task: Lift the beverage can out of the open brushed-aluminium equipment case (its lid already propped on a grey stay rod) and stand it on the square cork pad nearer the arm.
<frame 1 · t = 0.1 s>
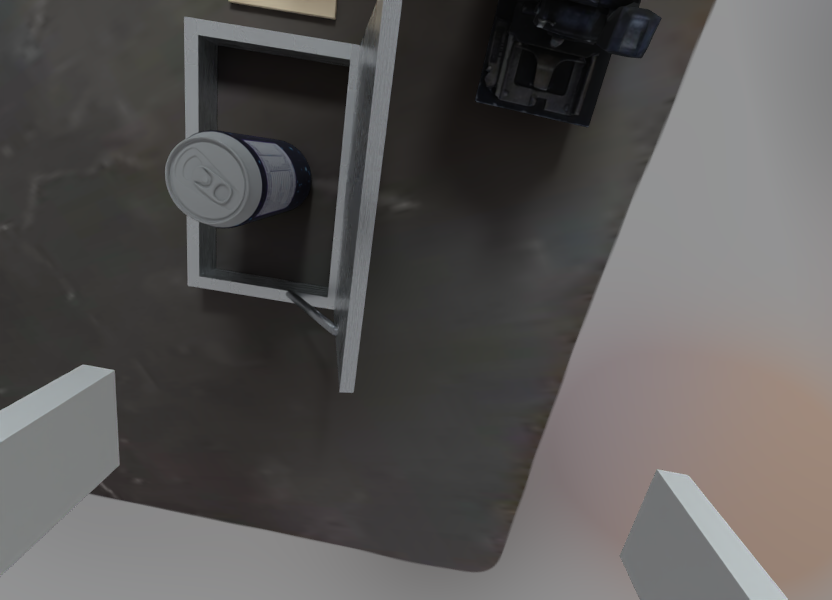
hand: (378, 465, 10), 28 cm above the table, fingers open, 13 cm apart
beverage can: (282, 176, 36), resting in case
vintage camera: (554, 9, 31), on the table
case: (281, 176, 36), on the table
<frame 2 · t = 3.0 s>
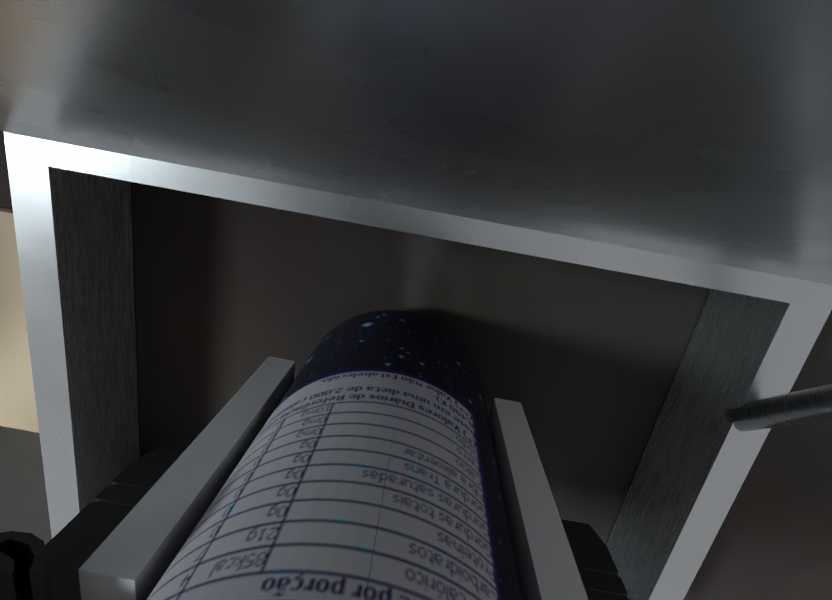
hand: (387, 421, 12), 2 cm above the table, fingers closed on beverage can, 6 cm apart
beverage can: (396, 377, 15), resting in case, touching gripper
case: (395, 380, 14), on the table
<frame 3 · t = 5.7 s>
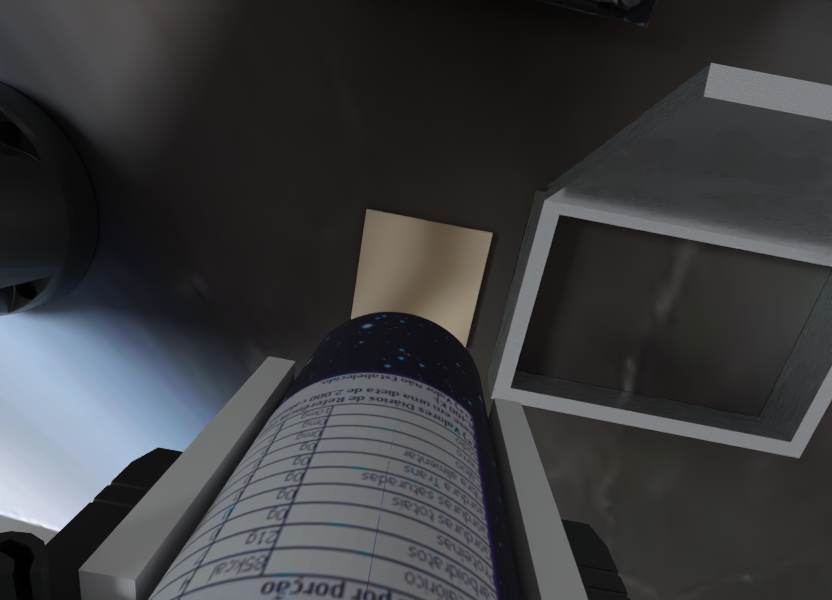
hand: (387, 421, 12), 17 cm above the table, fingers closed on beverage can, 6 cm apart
beverage can: (396, 378, 15), point 14 cm above the table, touching gripper
pad: (418, 280, 28), on the table
case: (659, 319, 28), on the table
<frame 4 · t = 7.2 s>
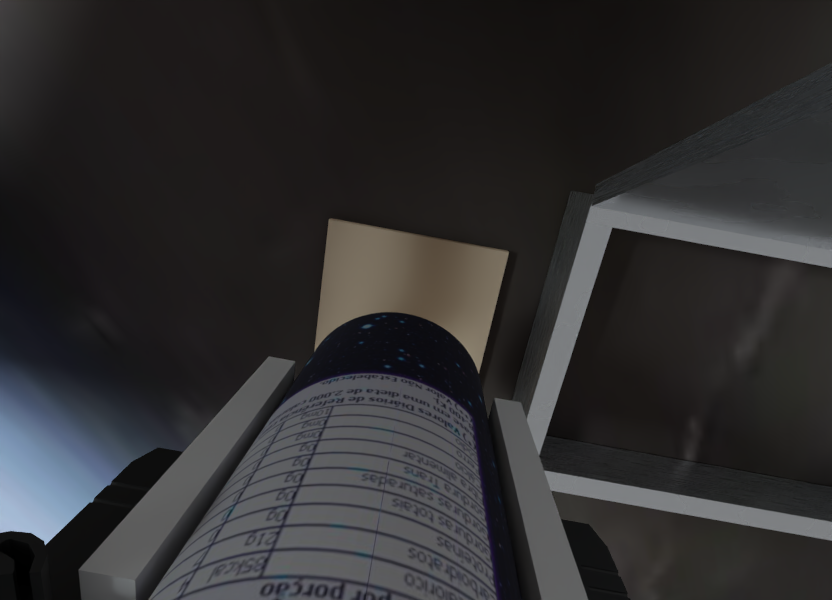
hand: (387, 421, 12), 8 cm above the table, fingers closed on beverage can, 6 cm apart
beverage can: (395, 378, 15), point 6 cm above the table, touching gripper
pad: (404, 317, 20), on the table
case: (738, 367, 20), on the table
when the fingers open (4 cm above the table, at t = 8.3 s): beverage can drops 1 cm, resting on pad.
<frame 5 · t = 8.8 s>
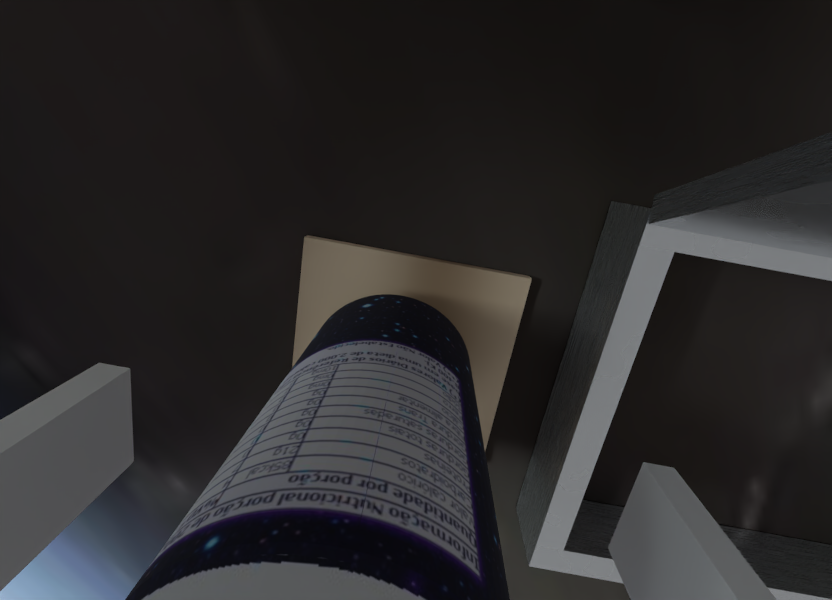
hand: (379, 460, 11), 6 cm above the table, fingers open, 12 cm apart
beverage can: (392, 357, 16), resting on pad
pad: (400, 356, 16), on the table
case: (815, 420, 16), on the table
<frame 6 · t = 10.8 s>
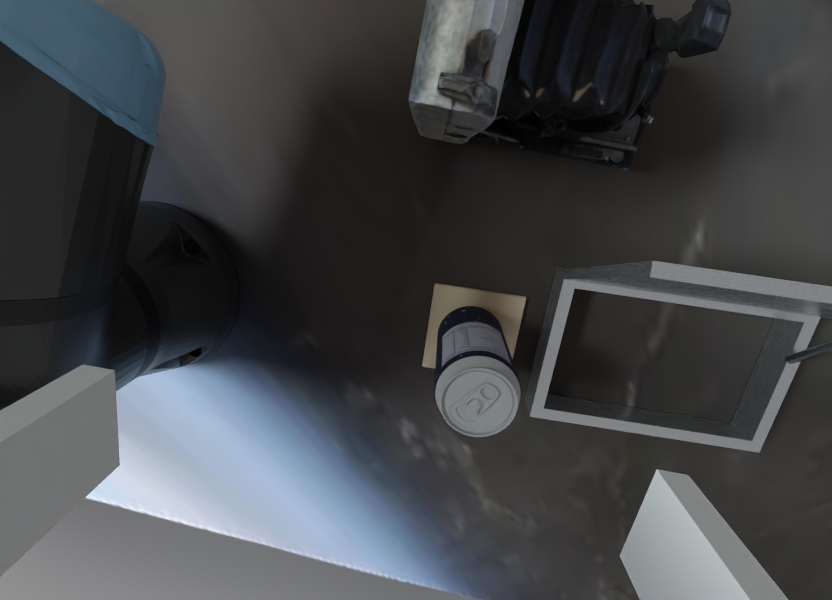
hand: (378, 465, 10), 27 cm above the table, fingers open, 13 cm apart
beverage can: (469, 332, 38), resting on pad
pad: (472, 331, 38), on the table
vintage camera: (530, 92, 32), on the table
case: (651, 353, 38), on the table
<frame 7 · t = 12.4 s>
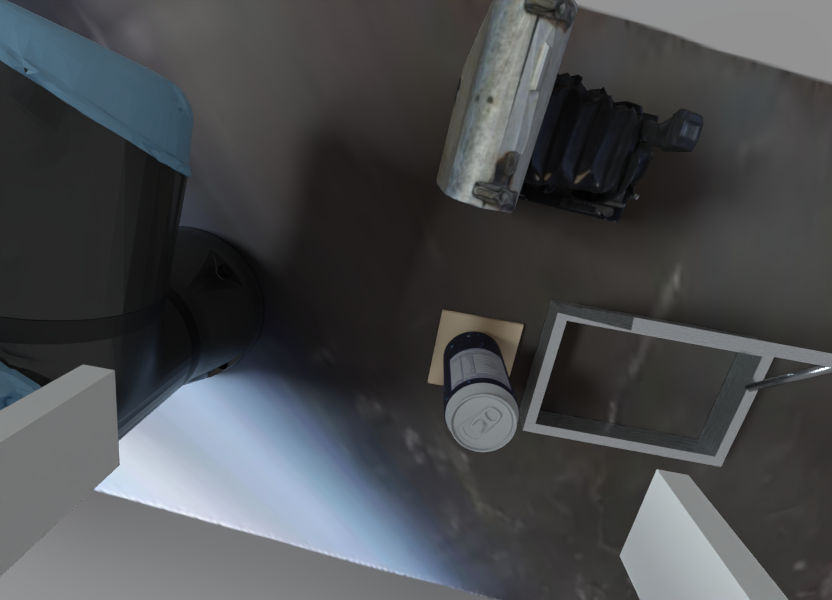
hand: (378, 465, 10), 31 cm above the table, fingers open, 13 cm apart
beverage can: (471, 353, 42), resting on pad
pad: (473, 353, 43), on the table
vintage camera: (534, 147, 37), on the table
case: (631, 377, 43), on the table
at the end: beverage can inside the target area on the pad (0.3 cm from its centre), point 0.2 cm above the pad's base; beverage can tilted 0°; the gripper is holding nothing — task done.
